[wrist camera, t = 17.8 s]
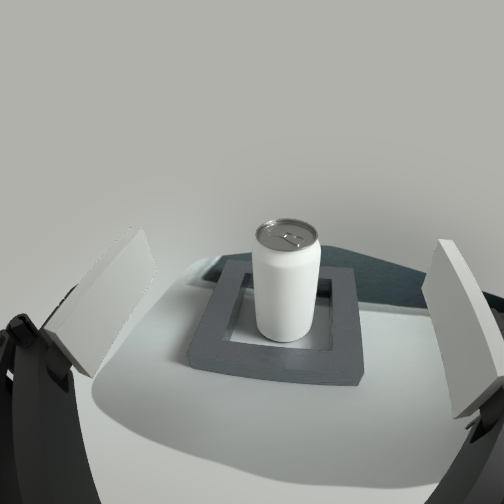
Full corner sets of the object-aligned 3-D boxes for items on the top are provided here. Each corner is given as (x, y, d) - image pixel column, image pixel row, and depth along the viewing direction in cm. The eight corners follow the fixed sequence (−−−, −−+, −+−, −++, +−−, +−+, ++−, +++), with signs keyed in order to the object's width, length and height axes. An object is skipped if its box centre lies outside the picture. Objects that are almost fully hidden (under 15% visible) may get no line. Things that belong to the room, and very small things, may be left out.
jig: (350, 282, 37) (353, 268, 35) (357, 385, 24) (364, 373, 22) (229, 274, 40) (227, 259, 38) (192, 367, 27) (186, 354, 26)
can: (281, 296, 35) (282, 210, 29) (322, 320, 32) (335, 231, 25) (244, 324, 32) (235, 234, 25) (287, 354, 28) (292, 263, 21)
